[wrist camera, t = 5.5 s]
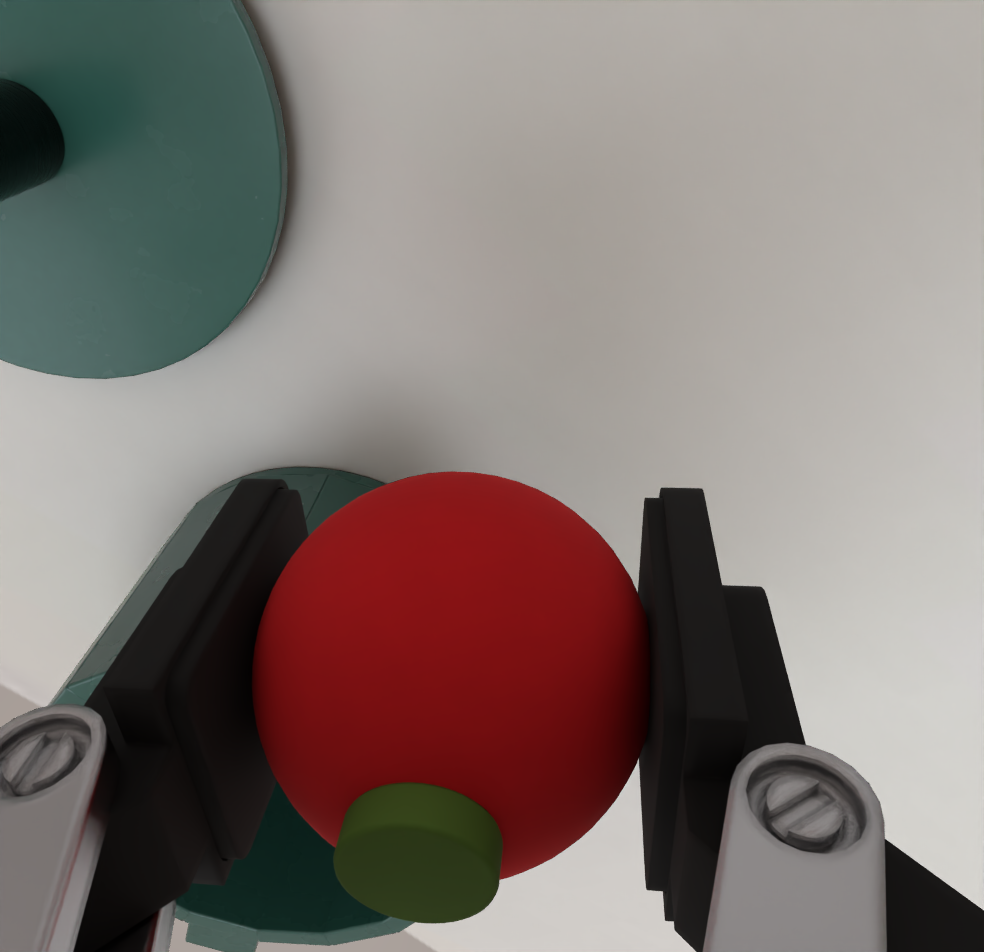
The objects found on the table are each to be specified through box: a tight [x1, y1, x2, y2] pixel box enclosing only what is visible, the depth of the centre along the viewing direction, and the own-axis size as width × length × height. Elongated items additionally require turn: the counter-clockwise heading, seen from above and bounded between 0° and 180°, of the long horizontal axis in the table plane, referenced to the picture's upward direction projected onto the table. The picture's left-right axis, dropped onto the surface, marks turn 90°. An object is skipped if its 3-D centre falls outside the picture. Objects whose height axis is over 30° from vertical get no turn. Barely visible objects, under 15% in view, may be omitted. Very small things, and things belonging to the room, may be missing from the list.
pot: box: [48, 467, 415, 952], centre depth 27 cm, size 12×18×9 cm
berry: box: [252, 472, 650, 923], centre depth 10 cm, size 5×5×5 cm
